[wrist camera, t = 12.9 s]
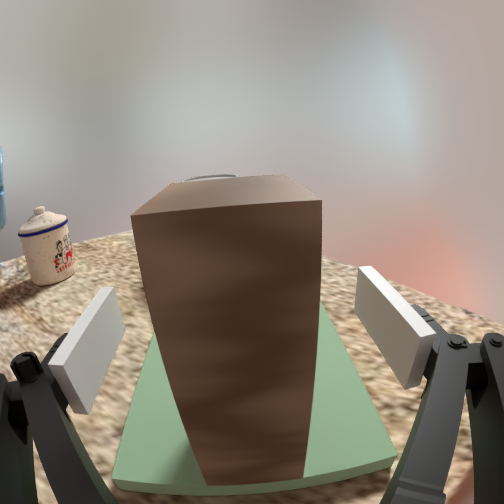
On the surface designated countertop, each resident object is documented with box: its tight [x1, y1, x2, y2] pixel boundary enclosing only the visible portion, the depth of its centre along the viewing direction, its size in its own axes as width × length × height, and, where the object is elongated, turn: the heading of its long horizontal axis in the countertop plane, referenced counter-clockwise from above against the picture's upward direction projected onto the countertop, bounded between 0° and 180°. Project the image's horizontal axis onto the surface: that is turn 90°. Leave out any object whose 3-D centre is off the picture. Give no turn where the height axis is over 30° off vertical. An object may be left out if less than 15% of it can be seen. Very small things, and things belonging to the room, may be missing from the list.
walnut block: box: [131, 175, 322, 486], centre depth 13 cm, size 5×6×14 cm
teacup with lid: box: [18, 206, 77, 286], centre depth 44 cm, size 12×9×12 cm
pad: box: [111, 301, 398, 496], centre depth 24 cm, size 16×24×5 cm, turn 4°
